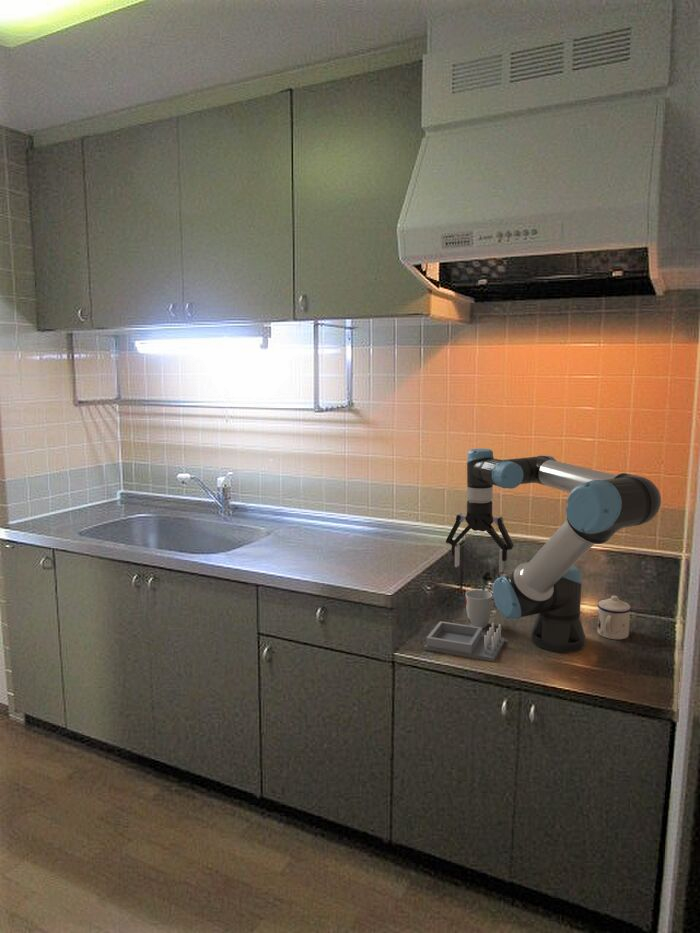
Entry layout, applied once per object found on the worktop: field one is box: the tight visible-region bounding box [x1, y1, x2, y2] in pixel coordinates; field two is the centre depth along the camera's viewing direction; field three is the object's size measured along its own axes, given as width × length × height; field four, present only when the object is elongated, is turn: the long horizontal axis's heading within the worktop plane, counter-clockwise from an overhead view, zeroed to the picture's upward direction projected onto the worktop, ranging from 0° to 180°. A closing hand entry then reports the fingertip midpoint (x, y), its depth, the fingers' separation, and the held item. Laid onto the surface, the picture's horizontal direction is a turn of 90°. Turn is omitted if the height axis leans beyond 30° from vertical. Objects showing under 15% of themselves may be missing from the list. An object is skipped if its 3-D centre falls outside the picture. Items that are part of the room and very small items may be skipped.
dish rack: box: [423, 621, 506, 662], centre depth 189 cm, size 20×14×6 cm
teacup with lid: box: [597, 595, 632, 640], centre depth 193 cm, size 12×9×12 cm
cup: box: [465, 589, 493, 629], centre depth 203 cm, size 8×8×10 cm
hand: (478, 568), depth 200 cm, fingers open, 13 cm apart
